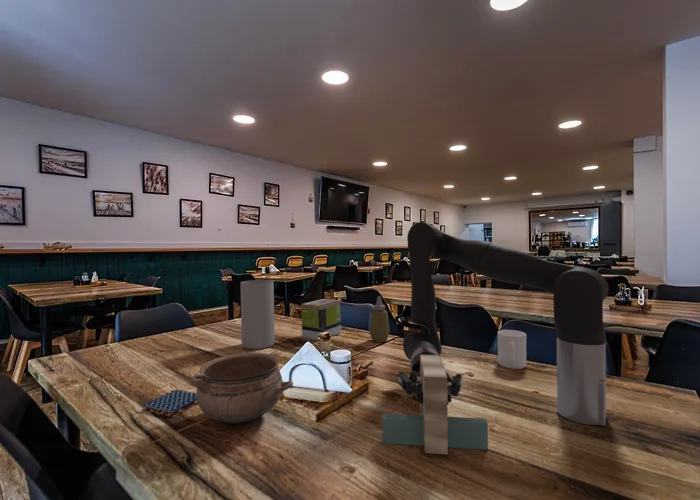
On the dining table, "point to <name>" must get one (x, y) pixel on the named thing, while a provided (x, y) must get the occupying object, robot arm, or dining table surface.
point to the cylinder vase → (257, 314)
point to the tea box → (320, 318)
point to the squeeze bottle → (379, 322)
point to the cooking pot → (239, 387)
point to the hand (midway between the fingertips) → (434, 399)
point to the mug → (512, 349)
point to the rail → (459, 431)
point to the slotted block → (434, 404)
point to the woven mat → (172, 403)
